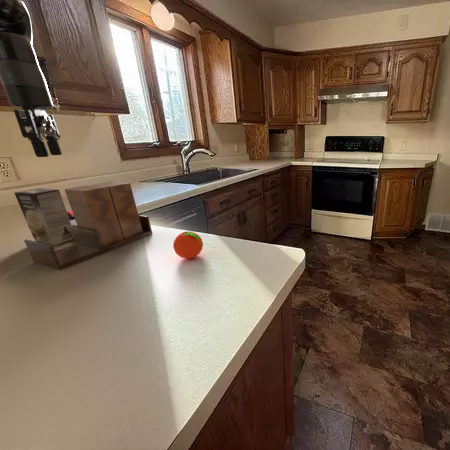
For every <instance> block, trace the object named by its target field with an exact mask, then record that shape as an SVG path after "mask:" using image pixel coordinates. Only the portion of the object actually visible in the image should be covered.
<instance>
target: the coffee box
mask: <svg viewBox="0 0 450 450" xmlns="http://www.w3.org/2000/svg"><path fill="white" fill-rule="evenodd" d="M14 196H15V198H16V201H17V203H18V205H19V207H20V210H21V212H22V214H23V215H22V216H23V217H24V220H25V221H26V224H27V227H28V229H29V231H30V233H31V236H32V238H33V241H35V242H39V243H43V244H47V245H51V246H57V245H60V244H64V243H66V242H69V241H72V240H74V238H73V235H72V232H71V230H70V228H71V227H72V225H71V222H70V221H71V219H69V217H68V214H67V211H68V210H67V208H66V206H65V203H64V200H63V196H62V194H61V192H60V189H57V188H56V189H55V188H44V187H43V188H42V187H39V188H33V189H28V190H27V189H26V190H21V191H16V192H15V191H14Z"/></svg>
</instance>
